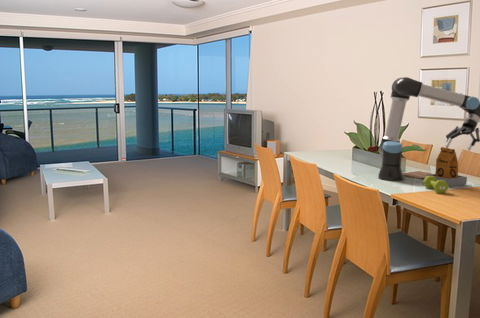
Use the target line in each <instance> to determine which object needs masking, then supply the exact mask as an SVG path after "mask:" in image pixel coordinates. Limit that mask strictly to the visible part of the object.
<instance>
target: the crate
mask: <svg viewBox="0 0 480 318" xmlns="http://www.w3.org/2000/svg"><path fill="white" fill-rule="evenodd" d="M427 176H434V177H435V178H436V180H444V181H446V183H447V185H448V189H449V188H455V187H462V186H467V181H468V180H467V179H468V176H465V175H460V174H458V178H450V179H446V178H441V177H436V176H435V173H432V174H430V175H427Z"/></svg>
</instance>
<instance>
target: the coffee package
mask: <svg viewBox="0 0 480 318" xmlns="http://www.w3.org/2000/svg"><path fill="white" fill-rule="evenodd" d="M436 157H437V158H436V160H435V172H434V174H435V176H436V177H441V178H446V179H450V178H458V175H459V162H458V158H457V153H456V150H455V149H454V148H449V147H448V148H446V147H443V146H441V147H440V152H439V153H438V155H437V156H436Z"/></svg>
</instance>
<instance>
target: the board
mask: <svg viewBox="0 0 480 318" xmlns="http://www.w3.org/2000/svg"><path fill="white" fill-rule="evenodd" d="M430 174H433V173H431V172H426V171H421V170H417V171H415V170H414V171H407V172H406V171H405V172H402V175H403V177H408V178H413V179H417V180H424V179H425V177H426V176H427V175H430Z"/></svg>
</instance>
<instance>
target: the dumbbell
mask: <svg viewBox="0 0 480 318" xmlns="http://www.w3.org/2000/svg"><path fill="white" fill-rule="evenodd" d="M422 183H423V185H424V187H425V189H426V188H427V189H434V192H435V193H436V194H445V193H446V192H447V190H448V189H449V188H448V185H447V183H446V181H444V180H436V178H435V177H434V176H426V177H425V179H423V182H422Z"/></svg>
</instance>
